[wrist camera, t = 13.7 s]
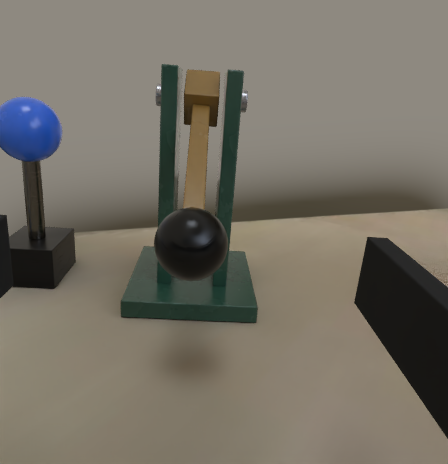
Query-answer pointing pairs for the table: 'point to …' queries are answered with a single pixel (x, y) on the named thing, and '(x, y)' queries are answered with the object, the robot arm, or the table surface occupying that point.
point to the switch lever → (194, 192)
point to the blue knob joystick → (35, 194)
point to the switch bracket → (235, 264)
